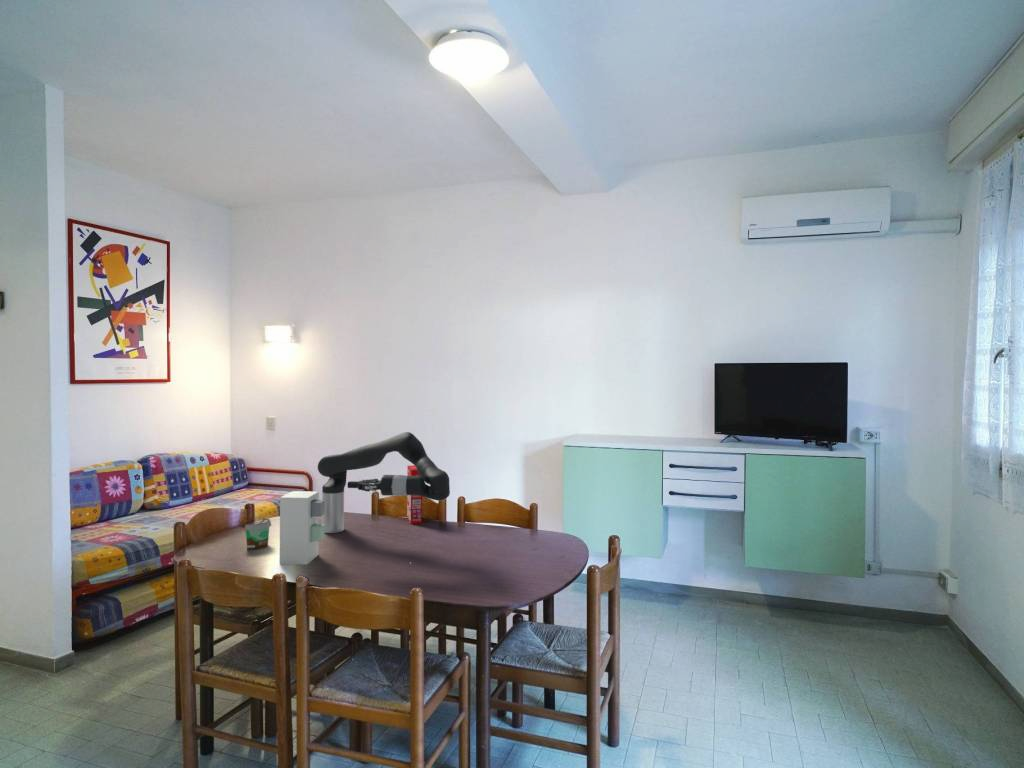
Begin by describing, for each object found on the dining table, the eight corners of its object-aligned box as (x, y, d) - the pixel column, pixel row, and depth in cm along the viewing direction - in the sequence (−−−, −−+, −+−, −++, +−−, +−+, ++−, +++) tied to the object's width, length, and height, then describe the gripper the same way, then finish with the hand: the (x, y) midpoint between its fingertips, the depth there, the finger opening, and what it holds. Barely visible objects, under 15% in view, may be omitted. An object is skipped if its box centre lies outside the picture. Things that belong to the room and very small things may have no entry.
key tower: (291, 554, 231) (292, 491, 230) (318, 554, 231) (318, 491, 230) (279, 564, 219) (280, 497, 218) (307, 564, 219) (307, 497, 218)
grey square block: (308, 513, 227) (308, 499, 227) (324, 513, 227) (325, 500, 227) (304, 516, 222) (304, 502, 222) (320, 516, 222) (320, 502, 222)
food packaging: (422, 523, 283) (422, 469, 282) (410, 524, 281) (411, 470, 281) (417, 516, 297) (418, 465, 296) (406, 517, 295) (407, 465, 295)
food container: (258, 551, 234) (259, 525, 234) (244, 550, 235) (244, 524, 235) (277, 543, 246) (277, 518, 246) (263, 542, 247) (264, 517, 247)
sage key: (308, 537, 227) (308, 524, 227) (324, 537, 227) (324, 524, 227) (303, 540, 222) (304, 527, 222) (320, 541, 222) (320, 527, 222)
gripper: (398, 472, 230) (352, 471, 230) (391, 477, 217) (343, 477, 217) (398, 492, 230) (352, 491, 230) (391, 499, 217) (342, 498, 217)
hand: (348, 484), depth 223 cm, fingers closed
